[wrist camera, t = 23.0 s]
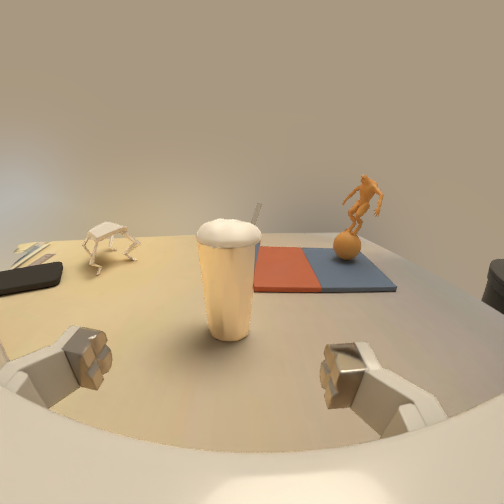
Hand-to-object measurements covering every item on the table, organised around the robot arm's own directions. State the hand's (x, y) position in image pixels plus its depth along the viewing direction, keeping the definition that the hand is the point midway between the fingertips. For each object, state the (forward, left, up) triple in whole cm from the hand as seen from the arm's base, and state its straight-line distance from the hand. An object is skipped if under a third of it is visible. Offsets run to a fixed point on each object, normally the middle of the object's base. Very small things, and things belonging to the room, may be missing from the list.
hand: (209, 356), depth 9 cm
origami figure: (+19, -26, -7) cm, 33 cm away
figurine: (-16, -28, -6) cm, 33 cm away
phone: (+30, -15, -7) cm, 34 cm away
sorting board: (-9, -26, -7) cm, 28 cm away
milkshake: (0, -12, -7) cm, 13 cm away
